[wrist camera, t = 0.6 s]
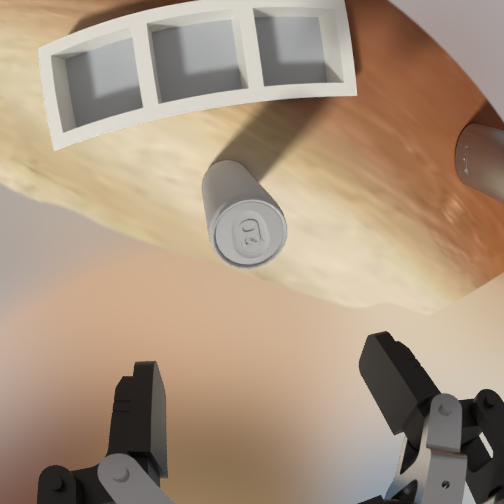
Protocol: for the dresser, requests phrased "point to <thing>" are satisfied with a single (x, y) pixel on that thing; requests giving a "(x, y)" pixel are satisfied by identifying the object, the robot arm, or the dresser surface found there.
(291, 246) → the dresser surface
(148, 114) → the can caddy
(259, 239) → the beverage can
